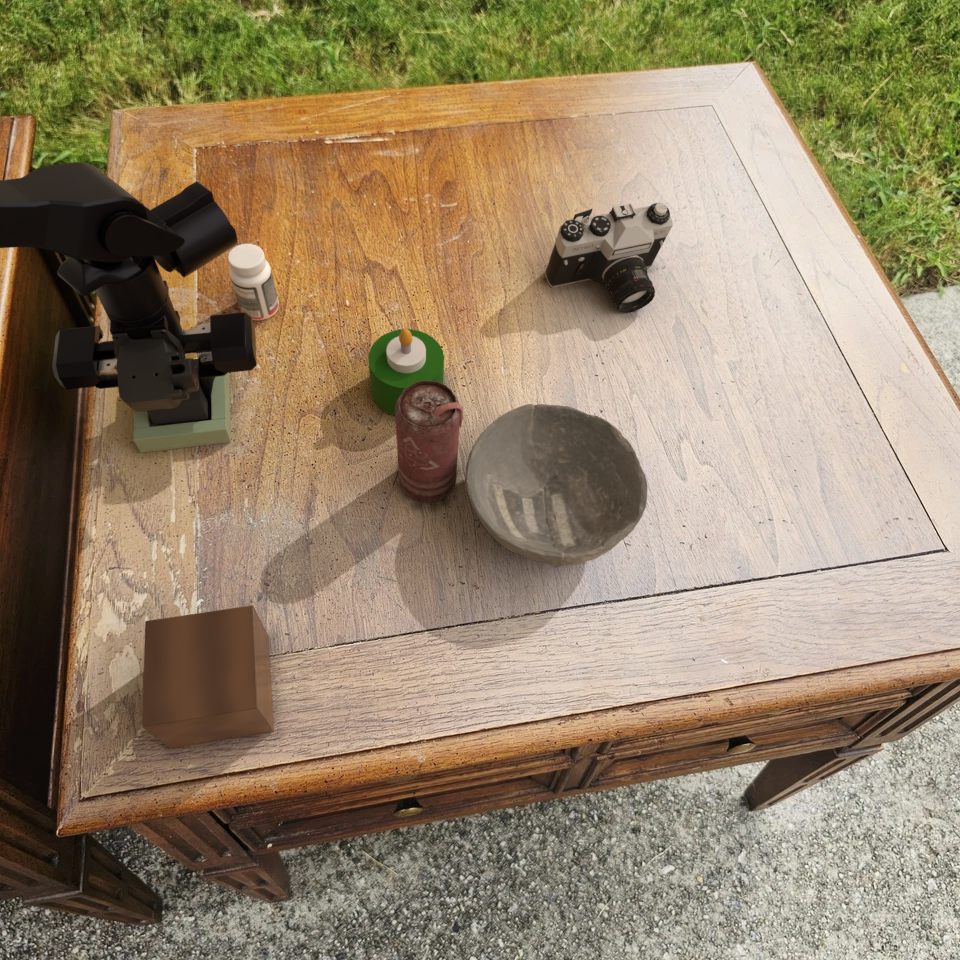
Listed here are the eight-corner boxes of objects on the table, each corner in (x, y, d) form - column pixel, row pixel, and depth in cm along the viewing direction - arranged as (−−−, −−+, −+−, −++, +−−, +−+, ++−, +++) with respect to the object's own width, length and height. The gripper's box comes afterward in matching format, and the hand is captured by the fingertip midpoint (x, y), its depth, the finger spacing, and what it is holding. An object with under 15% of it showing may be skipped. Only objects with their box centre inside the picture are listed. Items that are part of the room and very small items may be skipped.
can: (462, 500, 84) (468, 426, 72) (402, 507, 83) (398, 433, 71) (453, 453, 87) (458, 373, 75) (396, 459, 86) (391, 380, 74)
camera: (567, 331, 99) (586, 285, 89) (539, 260, 102) (554, 208, 93) (671, 308, 102) (701, 261, 92) (641, 239, 105) (666, 188, 96)
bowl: (447, 454, 87) (449, 412, 80) (599, 430, 90) (613, 387, 83) (484, 605, 78) (490, 571, 71) (651, 572, 81) (672, 537, 74)
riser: (169, 749, 69) (141, 727, 63) (171, 651, 74) (145, 620, 67) (274, 731, 71) (257, 708, 64) (269, 636, 75) (253, 604, 68)
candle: (433, 355, 94) (434, 295, 85) (451, 410, 90) (453, 353, 81) (364, 367, 92) (358, 307, 84) (379, 424, 88) (374, 367, 80)
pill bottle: (269, 287, 98) (257, 235, 91) (285, 312, 96) (274, 261, 89) (233, 301, 96) (217, 249, 89) (249, 327, 94) (234, 275, 87)
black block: (154, 425, 84) (143, 405, 81) (155, 383, 87) (145, 363, 84) (208, 419, 85) (200, 399, 82) (207, 378, 88) (199, 358, 85)
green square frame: (231, 442, 86) (226, 429, 84) (140, 453, 85) (132, 440, 82) (229, 374, 91) (224, 360, 89) (142, 383, 89) (135, 369, 87)
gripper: (16, 377, 67) (85, 473, 80) (242, 354, 70) (271, 450, 83) (30, 282, 72) (91, 386, 86) (238, 264, 75) (266, 368, 88)
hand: (180, 399), depth 86 cm, fingers closed on black block, 6 cm apart
